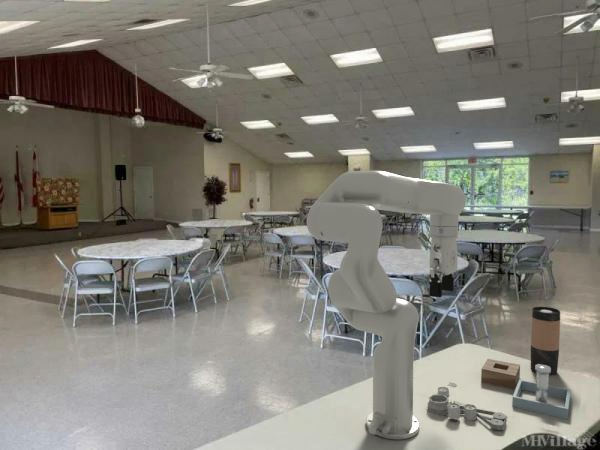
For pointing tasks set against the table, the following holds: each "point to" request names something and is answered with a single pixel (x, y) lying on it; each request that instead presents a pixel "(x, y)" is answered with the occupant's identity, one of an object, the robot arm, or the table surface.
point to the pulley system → (442, 407)
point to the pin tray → (541, 406)
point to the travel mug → (545, 338)
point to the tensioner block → (500, 373)
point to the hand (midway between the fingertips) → (441, 293)
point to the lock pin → (542, 382)
